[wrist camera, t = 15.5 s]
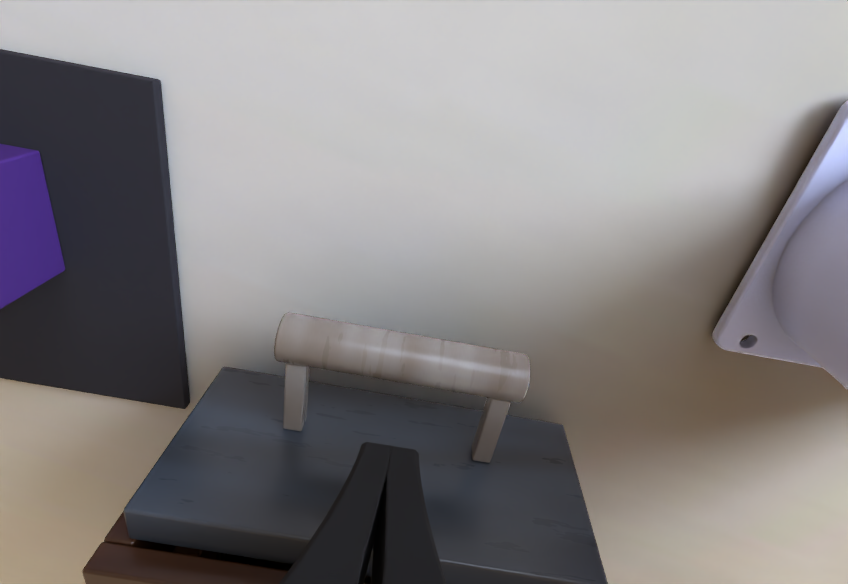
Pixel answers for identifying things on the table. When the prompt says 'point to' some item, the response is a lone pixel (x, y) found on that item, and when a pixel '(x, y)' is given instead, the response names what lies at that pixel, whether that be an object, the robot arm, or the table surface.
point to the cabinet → (165, 564)
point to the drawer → (339, 447)
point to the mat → (97, 235)
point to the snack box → (25, 225)
